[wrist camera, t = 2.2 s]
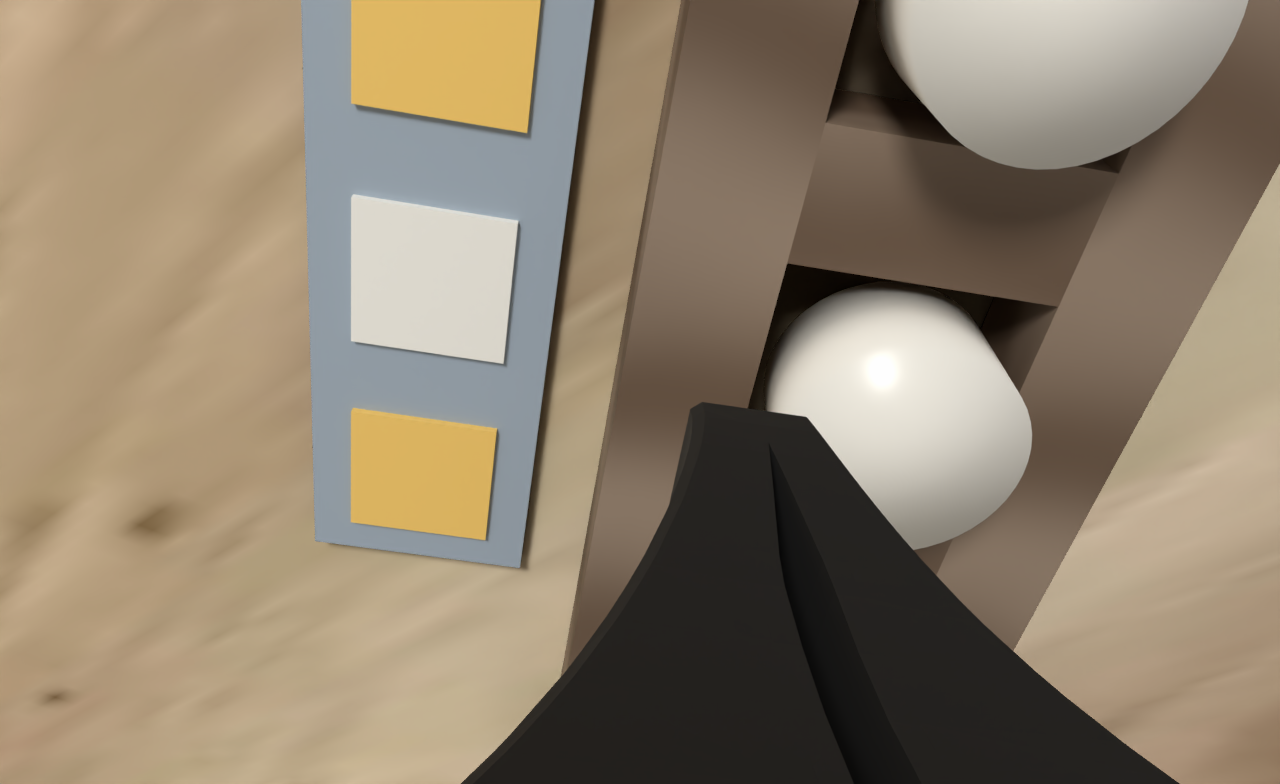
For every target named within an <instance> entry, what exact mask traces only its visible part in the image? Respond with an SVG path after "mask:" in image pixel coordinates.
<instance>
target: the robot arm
mask: <svg viewBox="0 0 1280 784" xmlns="http://www.w3.org/2000/svg"><path fill="white" fill-rule="evenodd" d="M461 784H1179V783H1178V782H1176V781H1175V780H1174V779H1172V778H1171V777H1169V776H1168V775H1167V774H1165V773H1164V772H1163V771H1161V770H1160V769H1159V768H1157V767H1156V766H1154V765H1153V764H1152V763H1150V762H1149V761H1148V760H1146V759H1145V758H1143V757H1142V756H1141V755H1139V754H1138V753H1137V752H1135V751H1134V750H1132V749H1131V748H1130V747H1128V746H1127V745H1126V744H1124V743H1123V742H1122V741H1121V740H1119V739H1118V738H1117V737H1116V736H1114V735H1113V734H1112V733H1110V732H1109V731H1108V730H1107V729H1105V728H1104V727H1103V726H1102V725H1100V724H1099V723H1098V722H1097V721H1095V720H1094V719H1093V718H1092V717H1090V716H1089V715H1088V714H1086V713H1085V712H1084V711H1083V710H1081V709H1080V708H1079V707H1078V706H1076V705H1075V704H1074V703H1073V702H1071V701H1070V700H1069V699H1067V698H1066V697H1065V696H1064V695H1063V694H1061V693H1060V692H1059V691H1058V690H1057V689H1056V688H1054V687H1053V686H1052V685H1051V684H1050V683H1048V682H1047V681H1046V680H1045V679H1044V678H1042V677H1041V676H1040V675H1039V674H1038V673H1037V672H1035V671H1034V670H1033V669H1032V668H1031V667H1030V666H1029V665H1028V664H1027V663H1025V662H1024V661H1023V660H1022V659H1021V658H1020V657H1019V656H1018V655H1017V654H1016V653H1015V652H1013V651H1012V650H1011V649H1010V648H1009V647H1008V646H1007V645H1006V644H1005V643H1004V642H1003V641H1002V640H1000V639H999V638H998V637H997V636H996V635H995V634H994V633H993V632H992V631H991V630H990V629H988V628H987V627H986V626H985V625H984V624H983V623H982V622H981V621H980V620H979V619H978V618H977V617H976V616H975V615H974V614H973V613H972V612H971V611H970V610H969V609H968V608H967V607H966V606H965V605H964V604H963V603H962V602H961V601H960V600H959V599H958V598H957V597H956V596H955V595H954V594H953V593H952V592H951V591H950V589H949V588H948V587H947V586H946V585H945V584H944V583H943V582H942V581H941V580H940V579H939V578H938V577H937V576H936V574H935V573H934V572H933V571H932V570H931V569H930V568H929V567H928V566H927V565H926V564H925V563H924V562H923V561H922V559H921V558H920V557H919V556H918V555H917V554H916V553H915V551H914V550H913V549H912V548H911V547H910V546H909V545H908V543H907V542H906V541H905V540H904V539H903V538H902V537H901V535H900V534H899V533H898V532H897V531H896V529H895V528H894V527H893V526H892V525H891V524H890V522H889V521H888V520H887V519H886V517H885V516H884V515H883V514H882V513H881V511H880V510H879V509H878V508H877V506H876V505H875V504H874V503H873V501H872V500H871V499H870V498H869V496H868V495H867V494H866V493H865V491H864V490H863V489H862V488H861V486H860V485H859V484H858V482H857V481H856V480H855V479H854V477H853V476H852V475H851V473H850V472H849V471H848V470H847V468H846V467H845V466H844V464H843V463H842V462H841V460H840V459H839V458H838V456H837V455H836V454H835V453H834V451H833V450H832V449H831V447H830V446H829V445H828V443H827V442H826V441H825V439H824V438H823V437H822V435H821V434H820V433H819V432H818V430H817V429H816V428H815V426H814V425H813V424H812V423H811V421H810V420H809V419H808V418H807V417H804V416H797V415H790V414H783V413H776V412H769V411H762V410H755V409H748V408H741V407H734V406H727V405H720V404H713V403H706V402H701V403H699V404H698V405H696V406H694V407H693V408H691V409H690V412H689V417H688V422H687V426H686V431H685V435H684V440H683V444H682V449H681V453H680V458H679V462H678V467H677V471H676V476H675V480H674V485H673V489H672V494H671V498H670V503H669V506H668V508H667V511H666V513H665V515H664V517H663V519H662V521H661V523H660V525H659V527H658V529H657V531H656V533H655V535H654V537H653V539H652V541H651V543H650V545H649V547H648V549H647V551H646V553H645V554H644V556H643V558H642V560H641V562H640V563H639V565H638V567H637V569H636V570H635V572H634V574H633V575H632V577H631V579H630V580H629V582H628V584H627V585H626V587H625V589H624V590H623V592H622V593H621V595H620V596H619V598H618V599H617V601H616V603H615V604H614V606H613V607H612V609H611V610H610V612H609V613H608V615H607V616H606V618H605V619H604V620H603V622H602V623H601V624H600V626H599V627H598V629H597V630H596V631H595V633H594V634H593V636H592V637H591V638H590V640H589V641H588V642H587V644H586V645H585V647H584V648H583V649H582V651H581V652H580V653H579V655H578V656H577V657H576V659H575V660H574V661H573V662H572V664H571V665H570V666H569V668H568V669H567V670H566V671H565V673H564V674H563V675H562V676H561V678H560V679H559V680H558V681H557V682H556V683H555V684H554V686H553V687H552V688H551V689H550V690H549V691H548V692H547V694H546V695H545V696H544V697H543V698H542V699H541V700H540V702H539V703H538V704H537V705H536V706H535V707H534V708H533V710H532V711H531V712H530V713H529V714H528V715H527V716H526V717H525V719H524V720H523V721H522V722H521V723H520V724H519V725H518V727H517V728H516V729H515V730H514V731H513V732H512V733H511V735H510V736H509V737H508V738H507V739H506V740H505V741H504V742H503V743H502V744H501V745H500V746H499V747H498V748H497V749H496V750H495V751H494V752H493V753H492V754H491V755H490V756H489V757H488V758H487V759H486V760H485V761H484V762H483V763H482V764H481V765H480V766H479V767H478V768H477V769H476V770H475V771H474V772H472V773H471V774H470V775H469V776H468V777H467V778H466V779H465V780H464V781H463V782H462V783H461Z"/></svg>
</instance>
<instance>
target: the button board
mask: <svg viewBox="0 0 1280 784" xmlns="http://www.w3.org/2000/svg"><path fill="white" fill-rule="evenodd" d="M858 2H859V0H681V5H680V11H679V16H678V22H677V28H676V33H675V39H674V45H673V50H672V56H671V61H670V67H669V73H668V78H667V84H666V89H665V95H664V101H663V106H662V112H661V118H660V123H659V129H658V134H657V140H656V146H655V151H654V157H653V163H652V168H651V174H650V179H649V185H648V191H647V196H646V202H645V207H644V213H643V219H642V224H641V230H640V236H639V241H638V247H637V252H636V258H635V264H634V269H633V275H632V281H631V286H630V292H629V297H628V303H627V309H626V314H625V320H624V326H623V331H622V337H621V342H620V348H619V354H618V359H617V365H616V370H615V376H614V382H613V387H612V393H611V399H610V404H609V410H608V415H607V421H606V427H605V432H604V438H603V444H602V449H601V455H600V460H599V466H598V472H597V477H596V483H595V488H594V494H593V500H592V505H591V511H590V517H589V522H588V528H587V533H586V539H585V545H584V550H583V556H582V562H581V567H580V573H579V578H578V584H577V590H576V595H575V601H574V606H573V612H572V618H571V623H570V629H569V635H568V640H567V646H566V651H565V657H564V663H563V668H562V674H561V676H562V675H563V674H564V673H565V671H566V670H567V669H568V668H569V666H570V665H571V664H572V662H573V661H574V660H575V659H576V657H577V656H578V655H579V653H580V652H581V651H582V649H583V648H584V647H585V645H586V644H587V642H588V641H589V640H590V638H591V637H592V636H593V634H594V633H595V631H596V630H597V629H598V627H599V626H600V624H601V623H602V622H603V620H604V619H605V618H606V616H607V615H608V613H609V612H610V610H611V609H612V607H613V606H614V604H615V603H616V601H617V599H618V598H619V596H620V595H621V593H622V592H623V590H624V589H625V587H626V585H627V584H628V582H629V580H630V579H631V577H632V575H633V574H634V572H635V570H636V569H637V567H638V565H639V563H640V562H641V560H642V558H643V556H644V554H645V553H646V551H647V549H648V547H649V545H650V543H651V541H652V539H653V537H654V535H655V533H656V531H657V529H658V527H659V525H660V523H661V521H662V519H663V517H664V515H665V513H666V511H667V508H668V506H669V503H670V498H671V494H672V489H673V485H674V480H675V476H676V471H677V467H678V462H679V458H680V453H681V449H682V444H683V440H684V435H685V431H686V426H687V422H688V417H689V412H690V409H691V408H693V407H694V406H696V405H698V404H699V403H701V402H706V403H713V404H720V405H727V406H734V407H741V408H748V405H749V401H750V397H751V394H752V390H753V386H754V383H755V379H756V375H757V372H758V368H759V364H760V361H761V357H762V353H763V350H764V346H765V342H766V339H767V335H768V331H769V328H770V324H771V320H772V317H773V313H774V309H775V306H776V302H777V298H778V295H779V291H780V287H781V284H782V280H783V276H784V273H785V269H786V265H787V263H789V264H795V265H801V266H807V267H814V268H820V269H826V270H832V271H839V272H845V273H851V274H857V275H863V276H870V277H876V278H882V279H888V280H895V281H901V282H907V283H913V284H919V285H926V286H932V287H938V288H944V289H951V290H957V291H963V292H969V293H975V294H982V295H988V296H994V299H993V301H992V304H991V306H990V309H989V311H988V314H987V316H986V318H985V321H984V323H983V326H982V328H981V332H982V333H983V335H984V337H985V338H986V340H987V342H988V343H989V345H990V346H991V348H992V350H993V351H994V353H995V355H996V356H997V358H998V359H999V361H1000V363H1001V364H1002V366H1003V368H1004V369H1005V371H1006V373H1007V374H1008V376H1009V377H1010V379H1011V381H1012V382H1013V384H1014V386H1015V387H1016V389H1017V390H1018V392H1019V394H1020V395H1021V397H1022V399H1023V401H1024V403H1025V405H1026V407H1027V410H1028V413H1029V417H1030V421H1031V429H1032V444H1031V452H1030V456H1029V460H1028V463H1027V466H1026V468H1025V471H1024V473H1023V476H1022V477H1021V479H1020V481H1019V483H1018V484H1017V486H1016V488H1015V489H1014V490H1013V492H1012V493H1011V494H1010V496H1009V497H1008V498H1007V500H1006V501H1005V502H1004V503H1003V504H1002V505H1001V506H1000V507H999V508H998V509H997V510H996V511H995V512H994V513H992V514H991V515H990V516H989V517H988V518H986V519H985V520H984V521H982V522H981V523H979V524H978V525H976V526H975V527H973V528H972V529H970V530H968V531H966V532H964V533H963V534H961V535H959V536H957V537H954V538H952V539H950V540H947V541H945V542H942V543H939V544H936V545H932V546H929V547H925V548H920V549H915V550H914V551H915V553H916V554H917V555H918V556H919V557H920V558H921V559H922V561H923V562H924V563H925V564H926V565H927V566H928V567H929V568H930V569H931V570H932V571H933V572H934V573H935V574H936V576H937V577H938V578H939V579H940V580H941V581H942V582H943V583H944V584H945V585H946V586H947V587H948V588H949V589H950V591H951V592H952V593H953V594H954V595H955V596H956V597H957V598H958V599H959V600H960V601H961V602H962V603H963V604H964V605H965V606H966V607H967V608H968V609H969V610H970V611H971V612H972V613H973V614H974V615H975V616H976V617H977V618H978V619H979V620H980V621H981V622H982V623H983V624H984V625H985V626H986V627H987V628H988V629H990V630H991V631H992V632H993V633H994V634H995V635H996V636H997V637H998V638H999V639H1000V640H1002V641H1003V642H1004V643H1005V644H1006V645H1007V646H1008V647H1009V648H1010V649H1011V650H1012V651H1013V650H1014V648H1015V647H1016V645H1017V643H1018V641H1019V639H1020V638H1021V636H1022V634H1023V632H1024V630H1025V628H1026V627H1027V625H1028V623H1029V621H1030V619H1031V617H1032V616H1033V614H1034V612H1035V610H1036V608H1037V606H1038V605H1039V603H1040V601H1041V599H1042V597H1043V595H1044V594H1045V592H1046V590H1047V588H1048V586H1049V584H1050V583H1051V581H1052V579H1053V577H1054V575H1055V573H1056V572H1057V570H1058V568H1059V566H1060V564H1061V562H1062V561H1063V559H1064V557H1065V555H1066V553H1067V552H1068V550H1069V548H1070V546H1071V544H1072V542H1073V541H1074V539H1075V537H1076V535H1077V533H1078V531H1079V530H1080V528H1081V526H1082V524H1083V522H1084V520H1085V519H1086V517H1087V515H1088V513H1089V511H1090V509H1091V508H1092V506H1093V504H1094V502H1095V500H1096V498H1097V497H1098V495H1099V493H1100V491H1101V489H1102V487H1103V486H1104V484H1105V482H1106V480H1107V478H1108V476H1109V475H1110V473H1111V471H1112V469H1113V467H1114V466H1115V464H1116V462H1117V460H1118V458H1119V456H1120V455H1121V453H1122V451H1123V449H1124V447H1125V445H1126V444H1127V442H1128V440H1129V438H1130V436H1131V434H1132V433H1133V431H1134V429H1135V427H1136V425H1137V423H1138V422H1139V420H1140V418H1141V416H1142V414H1143V412H1144V411H1145V409H1146V407H1147V405H1148V403H1149V401H1150V400H1151V398H1152V396H1153V394H1154V392H1155V390H1156V389H1157V387H1158V385H1159V383H1160V381H1161V380H1162V378H1163V376H1164V374H1165V372H1166V370H1167V369H1168V367H1169V365H1170V363H1171V361H1172V359H1173V358H1174V356H1175V354H1176V352H1177V350H1178V348H1179V347H1180V345H1181V343H1182V341H1183V339H1184V337H1185V336H1186V334H1187V332H1188V330H1189V328H1190V326H1191V325H1192V323H1193V321H1194V319H1195V317H1196V315H1197V314H1198V312H1199V310H1200V308H1201V306H1202V304H1203V303H1204V301H1205V299H1206V297H1207V295H1208V294H1209V292H1210V290H1211V288H1212V286H1213V284H1214V283H1215V281H1216V279H1217V277H1218V275H1219V273H1220V272H1221V270H1222V268H1223V266H1224V264H1225V262H1226V261H1227V259H1228V257H1229V255H1230V253H1231V251H1232V250H1233V248H1234V246H1235V244H1236V242H1237V240H1238V239H1239V237H1240V235H1241V233H1242V231H1243V229H1244V228H1245V226H1246V224H1247V222H1248V220H1249V218H1250V217H1251V215H1252V213H1253V211H1254V209H1255V208H1256V206H1257V204H1258V202H1259V200H1260V198H1261V197H1262V195H1263V193H1264V191H1265V189H1266V187H1267V186H1268V184H1269V182H1270V180H1271V178H1272V176H1273V175H1274V173H1275V171H1276V169H1277V167H1278V165H1279V164H1280V0H1248V4H1247V7H1246V10H1245V14H1244V17H1243V19H1242V21H1241V24H1240V26H1239V29H1238V31H1237V33H1236V36H1235V38H1234V40H1233V42H1232V43H1231V45H1230V47H1229V49H1228V51H1227V53H1226V54H1225V56H1224V58H1223V60H1222V61H1221V63H1220V64H1219V66H1218V67H1217V68H1216V70H1215V71H1214V73H1213V74H1212V76H1211V77H1210V79H1209V80H1208V81H1207V82H1206V83H1205V85H1204V86H1203V87H1202V88H1201V89H1200V91H1199V92H1198V93H1197V94H1196V95H1195V96H1194V98H1193V99H1192V100H1191V101H1190V102H1189V103H1188V104H1187V105H1186V106H1184V107H1183V108H1182V109H1181V110H1180V111H1179V112H1178V113H1177V114H1176V115H1175V116H1174V117H1173V118H1171V119H1170V120H1169V121H1168V122H1166V123H1165V124H1164V125H1163V126H1161V127H1160V128H1159V129H1158V130H1156V131H1155V132H1153V133H1151V134H1150V135H1148V136H1147V137H1145V138H1144V139H1142V140H1141V141H1139V142H1137V143H1136V144H1134V145H1132V146H1130V147H1128V148H1126V149H1124V150H1122V151H1120V152H1118V153H1116V154H1113V155H1110V156H1108V157H1105V158H1103V159H1100V160H1098V161H1094V162H1090V163H1086V164H1083V165H1079V166H1074V167H1067V168H1060V169H1041V170H1035V169H1026V168H1017V167H1012V166H1008V165H1004V164H1000V163H997V162H995V161H992V160H990V159H987V158H985V157H982V156H980V155H978V154H977V153H975V152H973V151H972V150H970V149H968V148H967V147H965V146H964V145H963V144H961V143H960V142H959V141H958V140H956V139H955V138H954V137H953V136H952V135H951V134H950V133H949V132H948V131H947V130H946V129H945V128H944V127H943V125H942V124H941V123H940V122H939V121H938V120H937V119H936V118H935V116H934V115H933V114H932V113H931V112H930V111H929V110H928V109H927V107H926V106H925V105H924V104H920V103H914V102H908V101H903V100H897V99H891V98H885V97H880V96H874V95H868V94H863V93H857V92H851V91H846V90H840V89H835V86H836V82H837V79H838V75H839V71H840V68H841V64H842V60H843V57H844V53H845V50H846V46H847V42H848V39H849V35H850V31H851V28H852V24H853V20H854V17H855V13H856V9H857V6H858Z"/></svg>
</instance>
